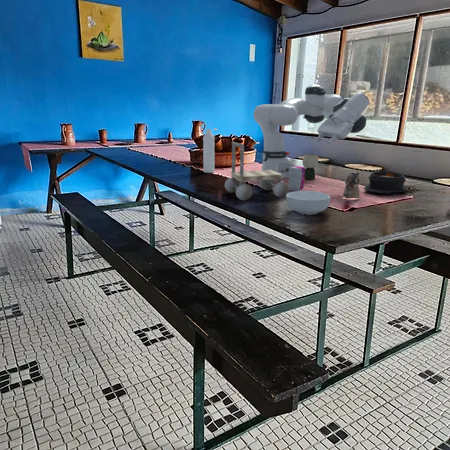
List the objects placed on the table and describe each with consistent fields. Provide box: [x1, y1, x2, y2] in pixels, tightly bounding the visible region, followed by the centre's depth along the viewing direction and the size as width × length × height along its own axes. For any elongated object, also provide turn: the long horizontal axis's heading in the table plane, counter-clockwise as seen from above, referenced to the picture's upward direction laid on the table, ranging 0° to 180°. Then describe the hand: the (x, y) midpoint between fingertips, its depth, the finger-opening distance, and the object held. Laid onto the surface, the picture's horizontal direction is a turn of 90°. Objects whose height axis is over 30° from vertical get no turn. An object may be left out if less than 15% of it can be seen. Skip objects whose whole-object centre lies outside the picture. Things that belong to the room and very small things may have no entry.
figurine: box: [342, 171, 360, 199], centre depth 181 cm, size 7×7×12 cm
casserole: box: [363, 171, 408, 194], centre depth 196 cm, size 25×19×8 cm
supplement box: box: [288, 165, 306, 192], centre depth 195 cm, size 6×6×12 cm
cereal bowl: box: [285, 190, 331, 216], centre depth 160 cm, size 17×17×7 cm
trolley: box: [224, 141, 290, 201], centre depth 185 cm, size 25×16×24 cm, turn 110°
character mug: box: [302, 154, 319, 180], centre depth 221 cm, size 11×7×13 cm, turn 122°
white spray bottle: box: [202, 128, 218, 174], centre depth 238 cm, size 9×6×25 cm
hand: (322, 142), depth 194 cm, fingers open, 8 cm apart
